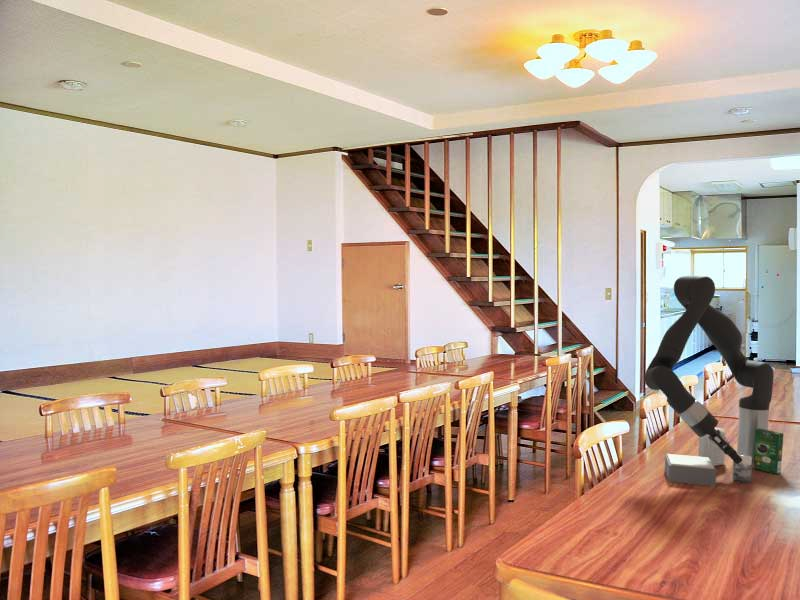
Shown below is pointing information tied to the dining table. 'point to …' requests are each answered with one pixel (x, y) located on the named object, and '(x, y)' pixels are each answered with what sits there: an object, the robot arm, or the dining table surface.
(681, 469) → the stand
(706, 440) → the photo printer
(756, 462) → the coffee box
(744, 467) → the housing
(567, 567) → the dining table surface
